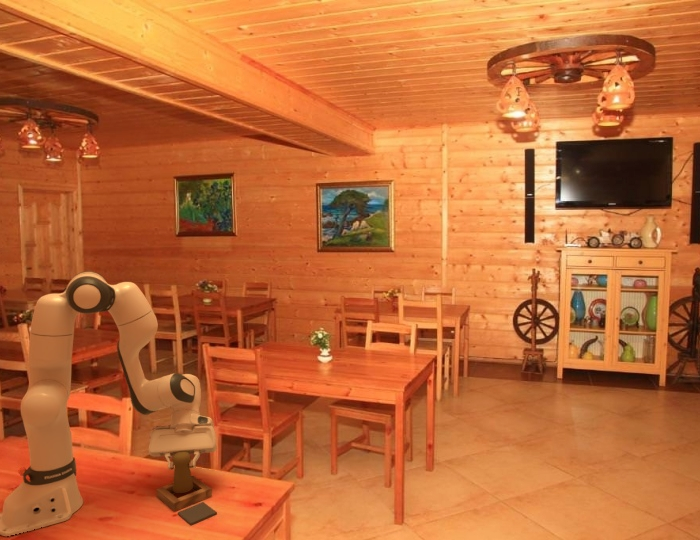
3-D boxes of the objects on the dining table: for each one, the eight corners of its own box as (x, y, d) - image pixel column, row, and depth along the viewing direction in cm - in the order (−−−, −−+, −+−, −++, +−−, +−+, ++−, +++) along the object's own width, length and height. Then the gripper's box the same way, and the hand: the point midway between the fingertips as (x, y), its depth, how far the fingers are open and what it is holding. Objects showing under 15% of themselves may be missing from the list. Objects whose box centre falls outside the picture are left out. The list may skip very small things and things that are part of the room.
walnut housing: (174, 511, 159) (174, 503, 158) (156, 496, 167) (156, 488, 167) (211, 496, 167) (211, 488, 167) (193, 482, 176) (192, 475, 175)
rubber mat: (190, 525, 151) (190, 523, 151) (177, 514, 157) (177, 512, 157) (216, 514, 157) (216, 512, 157) (203, 503, 163) (203, 501, 163)
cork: (185, 480, 171) (183, 447, 170) (197, 486, 168) (195, 452, 166) (168, 488, 167) (166, 454, 165) (180, 495, 163) (178, 459, 162)
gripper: (148, 422, 170) (143, 467, 162) (216, 417, 173) (214, 461, 165) (152, 430, 175) (147, 474, 167) (218, 426, 178) (216, 468, 169)
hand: (181, 467), depth 166 cm, fingers closed on cork, 5 cm apart
